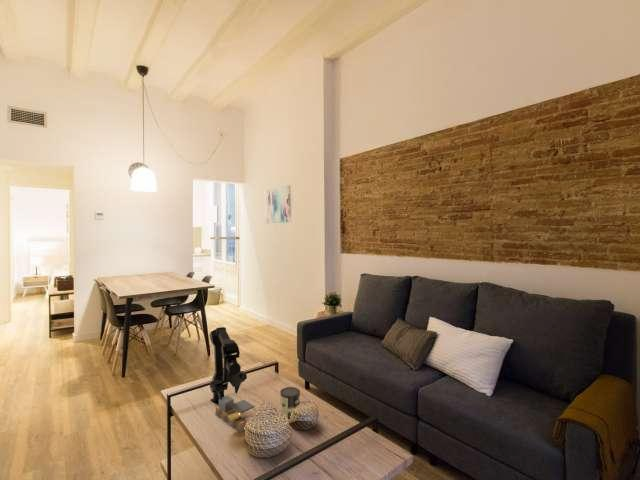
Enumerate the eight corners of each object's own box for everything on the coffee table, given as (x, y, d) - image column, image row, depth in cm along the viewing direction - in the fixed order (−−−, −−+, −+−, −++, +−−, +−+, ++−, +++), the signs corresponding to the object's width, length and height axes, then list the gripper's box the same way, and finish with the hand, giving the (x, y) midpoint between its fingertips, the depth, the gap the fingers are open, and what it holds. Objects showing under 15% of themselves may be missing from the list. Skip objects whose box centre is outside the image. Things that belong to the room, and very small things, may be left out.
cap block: (218, 408, 179) (218, 398, 179) (227, 404, 183) (227, 395, 183) (225, 412, 175) (225, 402, 175) (233, 408, 179) (233, 399, 179)
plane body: (215, 414, 180) (215, 404, 180) (225, 409, 185) (225, 400, 185) (240, 432, 165) (240, 421, 165) (251, 426, 170) (251, 416, 170)
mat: (228, 406, 188) (228, 406, 188) (243, 400, 196) (243, 399, 196) (239, 413, 182) (239, 413, 182) (254, 406, 189) (254, 406, 189)
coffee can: (301, 414, 183) (302, 388, 182) (296, 424, 173) (297, 397, 172) (283, 411, 185) (283, 385, 184) (277, 422, 175) (277, 394, 174)
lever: (237, 413, 173) (226, 416, 169) (237, 411, 173) (227, 414, 169) (243, 418, 170) (233, 421, 165) (243, 415, 170) (233, 418, 165)
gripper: (221, 377, 164) (221, 409, 165) (253, 366, 178) (252, 395, 178) (209, 370, 171) (208, 400, 172) (240, 359, 185) (240, 388, 186)
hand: (228, 396), depth 177 cm, fingers open, 9 cm apart
